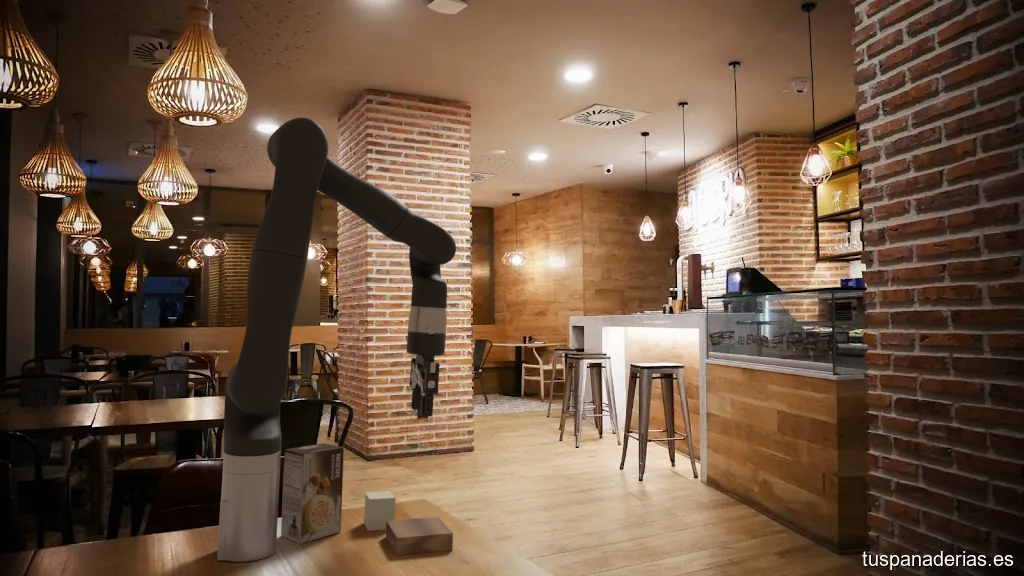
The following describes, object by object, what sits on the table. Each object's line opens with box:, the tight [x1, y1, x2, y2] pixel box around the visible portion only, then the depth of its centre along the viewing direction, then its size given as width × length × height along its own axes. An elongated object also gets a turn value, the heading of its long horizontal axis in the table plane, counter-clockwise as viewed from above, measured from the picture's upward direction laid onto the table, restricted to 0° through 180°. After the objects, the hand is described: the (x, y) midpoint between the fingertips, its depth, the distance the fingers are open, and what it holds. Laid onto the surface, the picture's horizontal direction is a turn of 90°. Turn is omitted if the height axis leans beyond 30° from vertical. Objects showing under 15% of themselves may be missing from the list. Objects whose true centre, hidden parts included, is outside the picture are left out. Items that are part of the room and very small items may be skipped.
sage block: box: [363, 490, 396, 532], centre depth 131 cm, size 5×5×6 cm
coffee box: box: [280, 442, 345, 544], centre depth 125 cm, size 9×6×16 cm
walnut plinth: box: [385, 516, 454, 557], centre depth 122 cm, size 10×10×3 cm
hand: (421, 412), depth 131 cm, fingers open, 8 cm apart
